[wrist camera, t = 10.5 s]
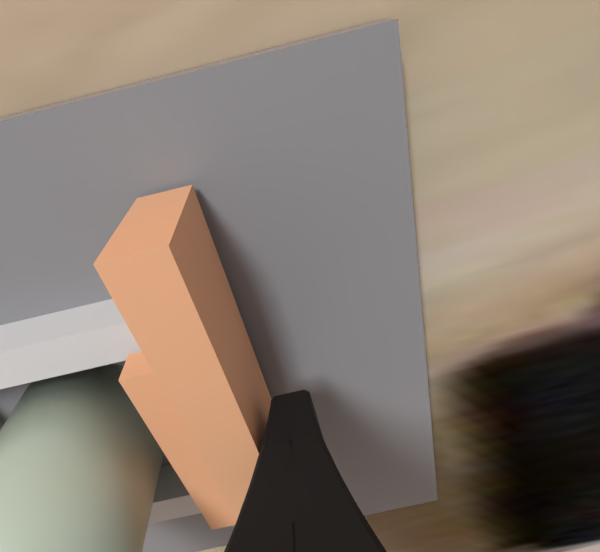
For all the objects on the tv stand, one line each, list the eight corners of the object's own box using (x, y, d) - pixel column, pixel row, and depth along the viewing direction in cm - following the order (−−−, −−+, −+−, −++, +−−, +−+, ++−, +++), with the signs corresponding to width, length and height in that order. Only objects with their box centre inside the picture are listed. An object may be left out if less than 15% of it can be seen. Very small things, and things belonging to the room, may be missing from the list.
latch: (192, 184, 9) (168, 245, 6) (309, 501, 15) (319, 592, 13) (82, 211, 9) (18, 281, 7) (243, 515, 15) (242, 608, 13)
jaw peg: (129, 342, 11) (18, 619, 6) (193, 437, 13) (152, 706, 8) (-9, 384, 11) (-229, 682, 6) (74, 471, 13) (-40, 750, 8)
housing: (384, 19, 9) (419, 19, 7) (429, 476, 17) (450, 533, 15) (-296, 193, 9) (-436, 237, 7) (71, 552, 18) (48, 616, 16)
